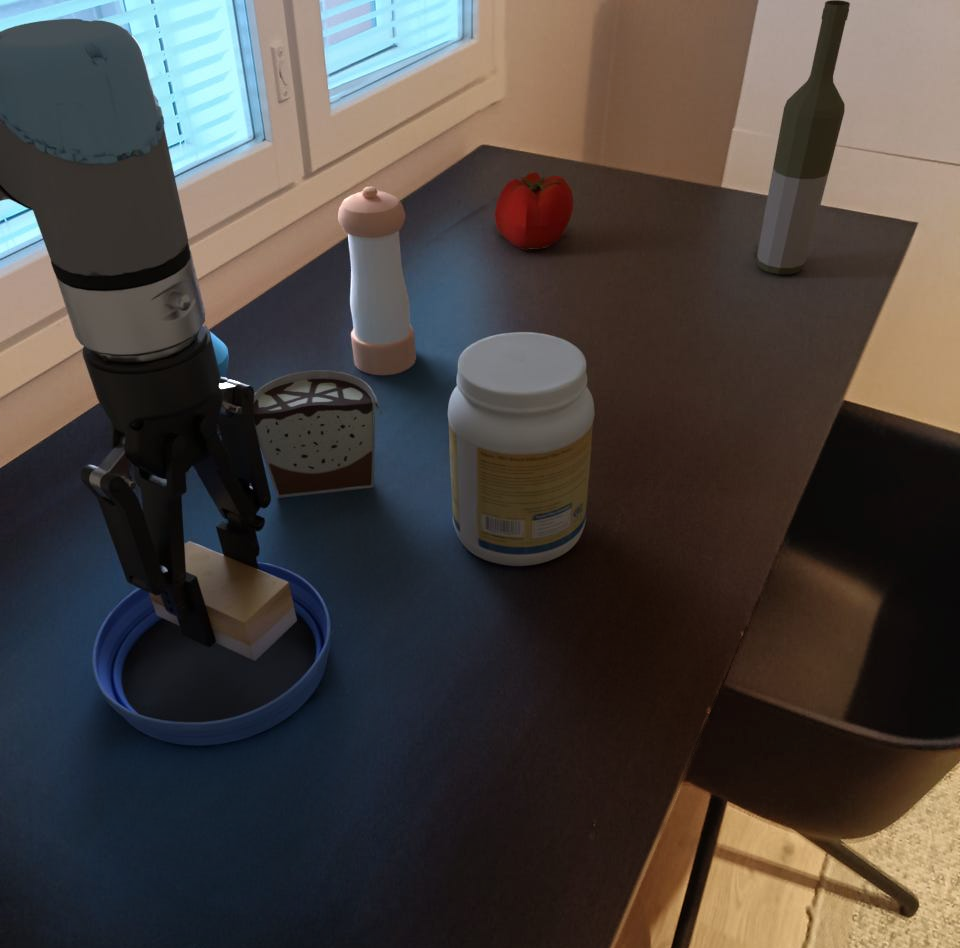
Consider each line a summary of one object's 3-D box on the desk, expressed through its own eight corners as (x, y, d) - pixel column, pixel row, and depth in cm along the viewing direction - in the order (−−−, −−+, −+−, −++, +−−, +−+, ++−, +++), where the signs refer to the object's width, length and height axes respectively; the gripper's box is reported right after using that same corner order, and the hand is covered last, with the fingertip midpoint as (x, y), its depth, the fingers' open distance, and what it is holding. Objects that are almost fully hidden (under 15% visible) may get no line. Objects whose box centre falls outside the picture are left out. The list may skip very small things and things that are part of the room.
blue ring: (95, 774, 66) (80, 743, 64) (113, 606, 79) (100, 575, 76) (346, 732, 69) (341, 701, 66) (325, 576, 81) (319, 545, 79)
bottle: (766, 281, 122) (824, 11, 101) (743, 260, 127) (794, -2, 105) (815, 275, 123) (882, 7, 102) (791, 254, 128) (850, -6, 107)
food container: (383, 451, 95) (374, 361, 88) (389, 485, 91) (380, 394, 84) (261, 463, 94) (242, 373, 86) (261, 499, 89) (241, 408, 82)
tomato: (575, 231, 134) (579, 167, 128) (562, 262, 127) (566, 196, 121) (504, 225, 136) (504, 162, 130) (487, 255, 129) (487, 190, 123)
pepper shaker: (347, 350, 110) (327, 180, 96) (407, 340, 111) (394, 171, 98) (361, 380, 105) (341, 205, 91) (423, 369, 107) (412, 195, 93)
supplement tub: (611, 528, 86) (631, 360, 74) (521, 591, 79) (526, 419, 68) (515, 475, 92) (518, 311, 80) (425, 530, 86) (414, 362, 74)
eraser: (156, 615, 72) (142, 576, 69) (200, 578, 75) (188, 540, 72) (255, 661, 69) (244, 622, 66) (297, 620, 72) (288, 582, 69)
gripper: (71, 421, 48) (178, 710, 65) (289, 289, 59) (334, 565, 76) (-24, 385, 51) (102, 671, 68) (201, 265, 62) (263, 536, 79)
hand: (224, 615), depth 72 cm, fingers closed on eraser, 5 cm apart
